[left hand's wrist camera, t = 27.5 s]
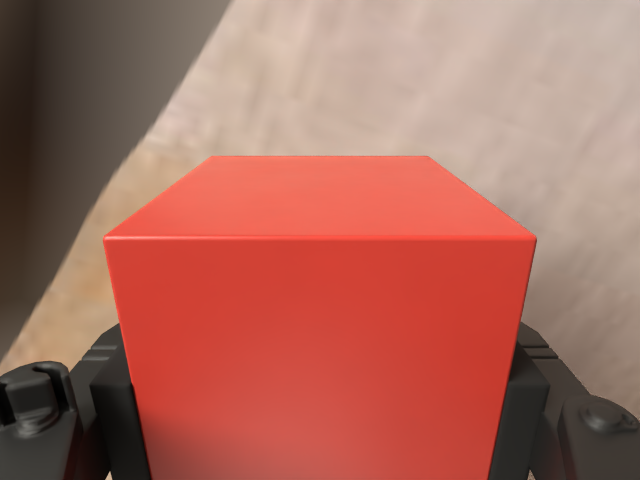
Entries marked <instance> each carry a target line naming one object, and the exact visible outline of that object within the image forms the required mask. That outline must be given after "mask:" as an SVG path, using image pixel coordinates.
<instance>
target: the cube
mask: <svg viewBox="0 0 640 480" xmlns="http://www.w3.org/2000/svg"><path fill="white" fill-rule="evenodd" d="M536 242H537V238H536V236H535V235H534V234H532V233H531V232H530V231H528V230H527V229H526V228H524V227H523V226H522V225H520V224H519V223H517V222H516V221H515V220H513V219H512V218H511V217H509V216H508V215H507V214H505V213H504V212H503V211H501V210H500V209H499V208H497V207H496V206H495V205H493V204H492V203H491V202H489V201H488V200H487V199H485V198H484V197H482V196H481V195H480V194H478V193H477V192H476V191H474V190H473V189H472V188H470V187H469V186H468V185H466V184H465V183H464V182H462V181H461V180H460V179H458V178H457V177H456V176H454V175H453V174H452V173H450V172H449V171H448V170H446V169H445V168H443V167H442V166H441V165H439V164H438V163H437V162H435V161H434V160H433V159H431V158H430V157H428V156H211V157H209V158H208V159H207V160H205V161H204V162H203V163H201V164H200V165H199V166H197V167H196V168H195V169H193V170H192V171H191V172H189V173H188V174H187V175H185V176H184V177H183V178H181V179H180V180H179V181H177V182H176V183H175V184H173V185H172V186H171V187H169V188H168V189H167V190H165V191H164V192H162V193H161V194H160V195H158V196H157V197H156V198H154V199H153V200H152V201H150V202H149V203H148V204H146V205H145V206H144V207H142V208H141V209H140V210H138V211H137V212H136V213H134V214H133V215H132V216H130V217H129V218H128V219H126V220H125V221H124V222H122V223H121V224H120V225H118V226H117V227H115V228H114V229H113V230H111V231H110V232H109V233H107V234H106V235H105V236H104V237H103V244H104V249H105V253H106V258H107V263H108V268H109V273H110V278H111V283H112V288H113V293H114V298H115V303H116V308H117V313H118V318H119V323H120V327H121V332H122V337H123V342H124V347H125V352H126V357H127V362H128V367H129V372H130V377H131V382H132V387H133V392H134V397H135V401H136V406H137V411H138V416H139V421H140V426H141V431H142V436H143V441H144V446H145V451H146V456H147V461H148V466H149V471H150V476H151V480H488V479H489V474H490V469H491V464H492V459H493V454H494V449H495V444H496V439H497V434H498V429H499V424H500V420H501V415H502V410H503V405H504V400H505V395H506V390H507V385H508V380H509V375H510V370H511V365H512V360H513V356H514V351H515V346H516V341H517V336H518V331H519V326H520V321H521V316H522V311H523V306H524V301H525V297H526V292H527V287H528V282H529V277H530V272H531V267H532V262H533V257H534V252H535V247H536Z"/></svg>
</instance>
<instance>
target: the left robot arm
mask: <svg viewBox="0 0 640 480" xmlns="http://www.w3.org/2000/svg"><path fill="white" fill-rule="evenodd" d="M530 470H531V472H532V474H533V476H534V477H535V479H536V480H640V422H639V421H638V420H637V418H636V417H634V416H633V415H632V414H631V413H630V412H628V411H627V410H626V409H625V408H623V407H621V406H619V405H617V404H615V403H613V402H612V401H610V400H606V399H603V398H600V397H597V396H593V395H591V394H590V393H589V392H588V391H587V390H586V389H585V387H584V386H583V385H582V384H581V383H580V382H579V380H578V379H577V378H576V377H575V376H574V374H573V373H572V372H571V371H570V370H569V369H568V367H567V366H566V365H565V364H564V363H563V361H562V360H561V359H558V356H557V354H556V353H555V352H554V351H553V350H552V349H551V348H549V345H548V344H547V343H546V341H545V340H544V339H543V338H542V337H541V336H540V334H539V333H538V332H536V331H535V330H533V329H532V328H530V327H528V326H527V325H525V324H524V323H522V322H520V326H519V331H518V336H517V341H516V346H515V351H514V356H513V360H512V365H511V370H510V375H509V380H508V385H507V390H506V395H505V400H504V405H503V410H502V415H501V420H500V424H499V429H498V434H497V439H496V444H495V449H494V454H493V459H492V464H491V469H490V474H489V479H488V480H527V479H528V475H529V471H530ZM109 472H111V476H112V480H151V476H150V471H149V466H148V461H147V456H146V451H145V446H144V441H143V436H142V431H141V426H140V421H139V416H138V411H137V406H136V401H135V397H134V392H133V387H132V382H131V377H130V372H129V367H128V362H127V357H126V352H125V347H124V342H123V337H122V332H121V327H120V323H118V324H117V325H115V326H114V327H112V328H111V329H109V330H108V331H106V332H104V333H103V334H102V335H101V336H100V337H99V338H98V339H97V341H96V342H95V343H94V344H93V345H92V346H91V350H88V351H87V352H86V354H85V355H84V356H83V357H82V360H81V361H79V362H78V363H77V364H76V365H75V367H74V368H73V369H72V370H71V371H70V373H69V371H68V368H67V367H66V366H65V365H63V364H62V363H60V362H54V361H43V362H34V363H31V364H27V365H24V366H20V367H18V368H16V369H14V370H11V371H9V372H7V373H5V374H3V375H2V376H0V480H105V479H106V477H107V475H108V473H109Z"/></svg>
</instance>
